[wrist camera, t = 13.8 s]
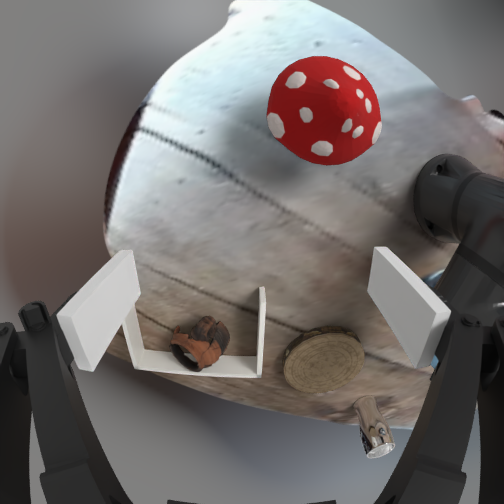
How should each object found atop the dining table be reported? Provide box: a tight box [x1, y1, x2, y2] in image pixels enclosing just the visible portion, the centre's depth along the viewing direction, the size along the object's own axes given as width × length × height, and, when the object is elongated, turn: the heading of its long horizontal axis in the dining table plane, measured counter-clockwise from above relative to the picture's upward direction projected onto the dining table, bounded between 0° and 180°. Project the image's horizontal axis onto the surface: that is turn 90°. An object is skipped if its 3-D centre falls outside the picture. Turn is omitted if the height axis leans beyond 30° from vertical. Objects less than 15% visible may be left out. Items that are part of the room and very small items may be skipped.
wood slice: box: [283, 326, 365, 393], centre depth 52 cm, size 16×16×3 cm
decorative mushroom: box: [267, 56, 382, 165], centre depth 30 cm, size 14×14×15 cm
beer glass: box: [353, 396, 395, 458], centre depth 53 cm, size 7×7×15 cm
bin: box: [122, 287, 266, 378], centre depth 48 cm, size 24×16×5 cm
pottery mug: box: [169, 316, 230, 372], centre depth 48 cm, size 12×10×8 cm
